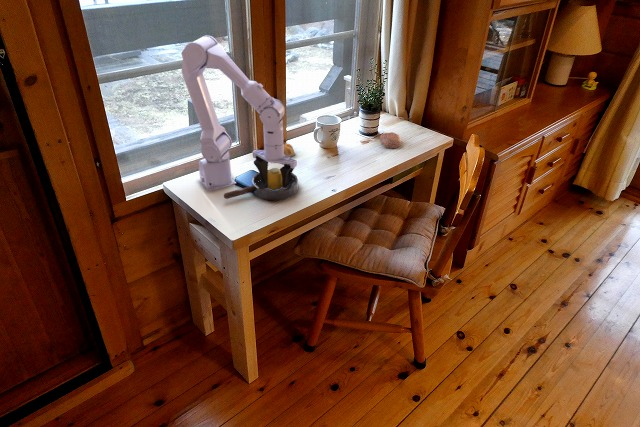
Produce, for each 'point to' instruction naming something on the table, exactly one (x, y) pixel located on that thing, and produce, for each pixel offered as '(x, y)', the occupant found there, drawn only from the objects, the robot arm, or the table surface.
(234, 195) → the skillet handle
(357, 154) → the table surface
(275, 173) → the yellow cylinder
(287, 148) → the pastry
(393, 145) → the pinkish-brown rounded lump
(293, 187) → the skillet
